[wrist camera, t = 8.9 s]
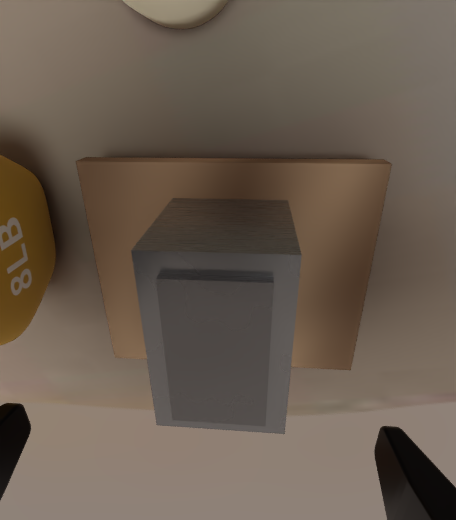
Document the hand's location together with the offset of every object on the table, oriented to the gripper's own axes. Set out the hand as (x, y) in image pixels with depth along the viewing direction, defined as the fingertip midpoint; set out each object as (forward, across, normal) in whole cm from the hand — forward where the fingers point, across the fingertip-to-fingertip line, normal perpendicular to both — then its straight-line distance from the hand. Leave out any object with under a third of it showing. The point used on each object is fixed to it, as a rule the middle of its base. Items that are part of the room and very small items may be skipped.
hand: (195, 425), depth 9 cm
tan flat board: (+10, 0, 0) cm, 10 cm away
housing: (+8, 0, 0) cm, 8 cm away
